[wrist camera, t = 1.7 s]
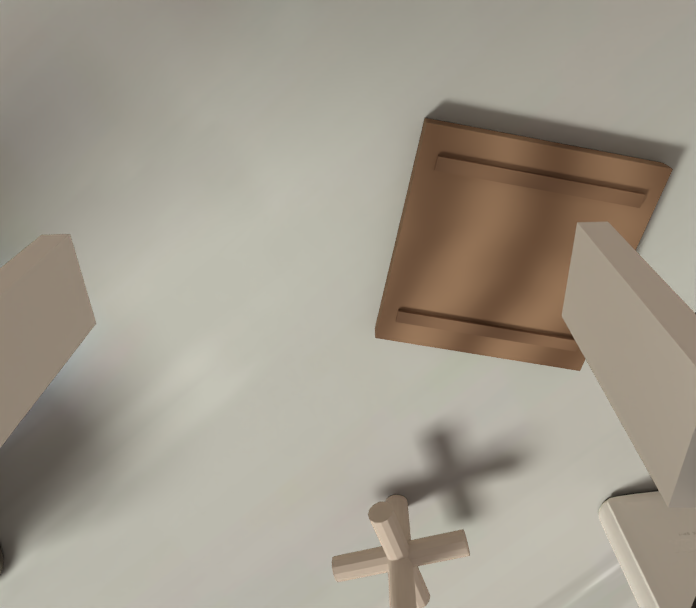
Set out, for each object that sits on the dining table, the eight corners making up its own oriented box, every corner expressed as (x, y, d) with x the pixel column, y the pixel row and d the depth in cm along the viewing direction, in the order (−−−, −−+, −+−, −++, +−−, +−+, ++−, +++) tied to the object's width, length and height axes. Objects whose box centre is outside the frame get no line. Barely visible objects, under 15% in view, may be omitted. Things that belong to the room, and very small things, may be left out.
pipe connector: (440, 444, 44) (460, 559, 36) (470, 530, 49) (494, 650, 40) (317, 473, 46) (306, 590, 37) (357, 553, 51) (356, 674, 42)
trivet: (374, 328, 39) (375, 340, 38) (424, 117, 33) (427, 123, 31) (574, 360, 40) (581, 373, 39) (663, 162, 34) (675, 170, 32)
